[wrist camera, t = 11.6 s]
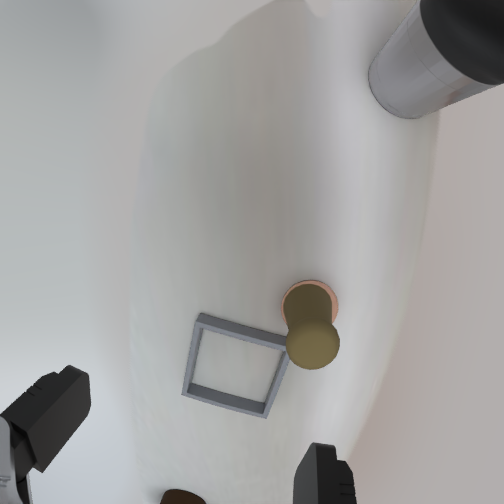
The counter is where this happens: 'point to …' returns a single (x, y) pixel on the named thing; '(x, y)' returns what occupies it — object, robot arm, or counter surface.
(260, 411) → the bin frame
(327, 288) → the salmon pink disc
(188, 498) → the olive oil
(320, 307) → the cork
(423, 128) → the counter surface
